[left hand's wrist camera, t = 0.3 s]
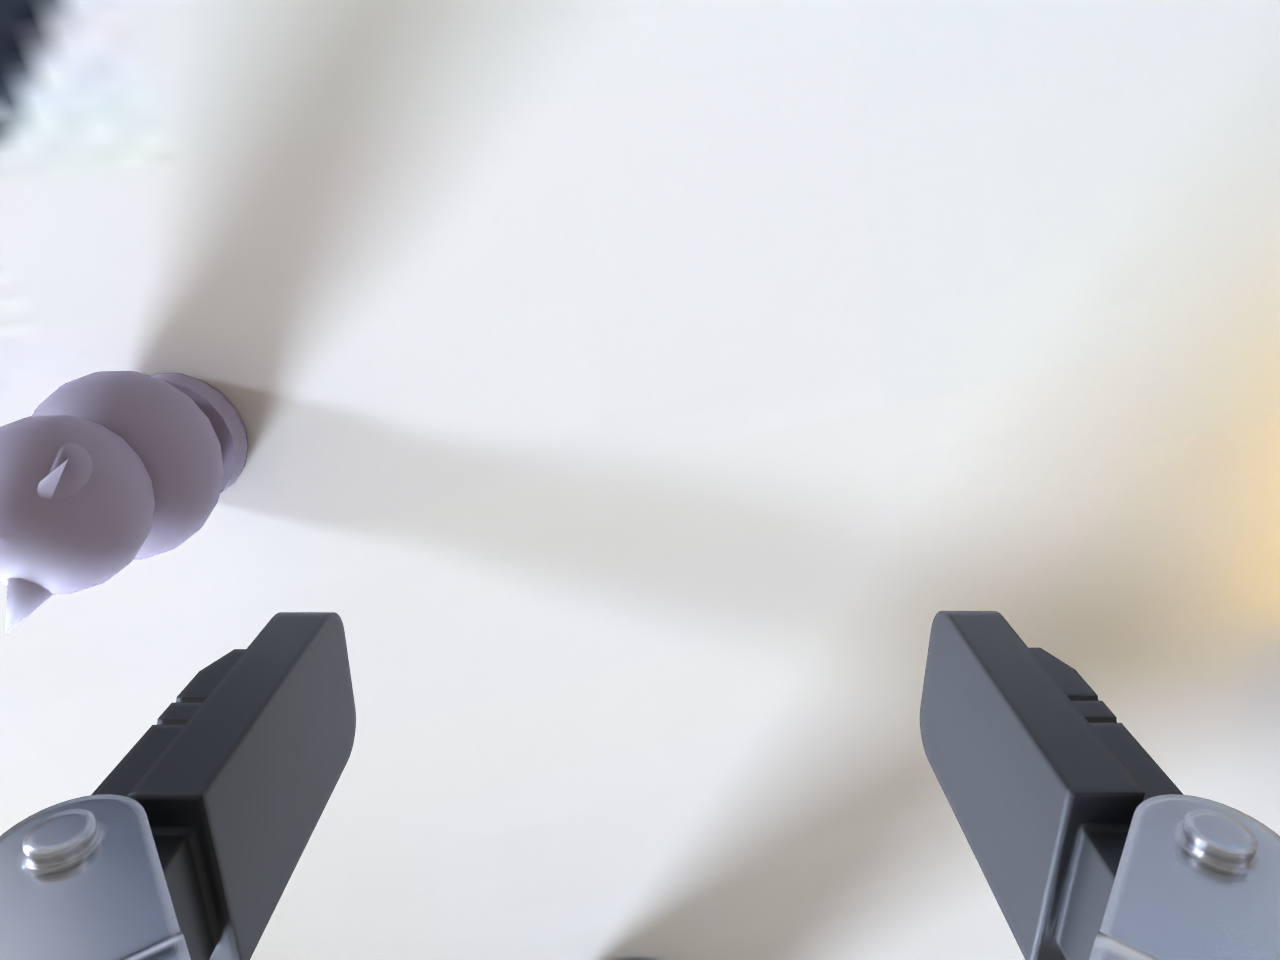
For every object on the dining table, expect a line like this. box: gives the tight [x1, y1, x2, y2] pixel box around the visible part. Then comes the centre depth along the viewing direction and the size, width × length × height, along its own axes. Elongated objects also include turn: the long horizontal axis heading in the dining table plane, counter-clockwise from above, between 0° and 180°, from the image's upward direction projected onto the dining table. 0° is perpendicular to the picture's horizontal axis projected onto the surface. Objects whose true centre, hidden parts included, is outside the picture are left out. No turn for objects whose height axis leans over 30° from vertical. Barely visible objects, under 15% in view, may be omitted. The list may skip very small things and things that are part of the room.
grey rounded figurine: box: [0, 371, 248, 635], centre depth 35 cm, size 8×8×12 cm
